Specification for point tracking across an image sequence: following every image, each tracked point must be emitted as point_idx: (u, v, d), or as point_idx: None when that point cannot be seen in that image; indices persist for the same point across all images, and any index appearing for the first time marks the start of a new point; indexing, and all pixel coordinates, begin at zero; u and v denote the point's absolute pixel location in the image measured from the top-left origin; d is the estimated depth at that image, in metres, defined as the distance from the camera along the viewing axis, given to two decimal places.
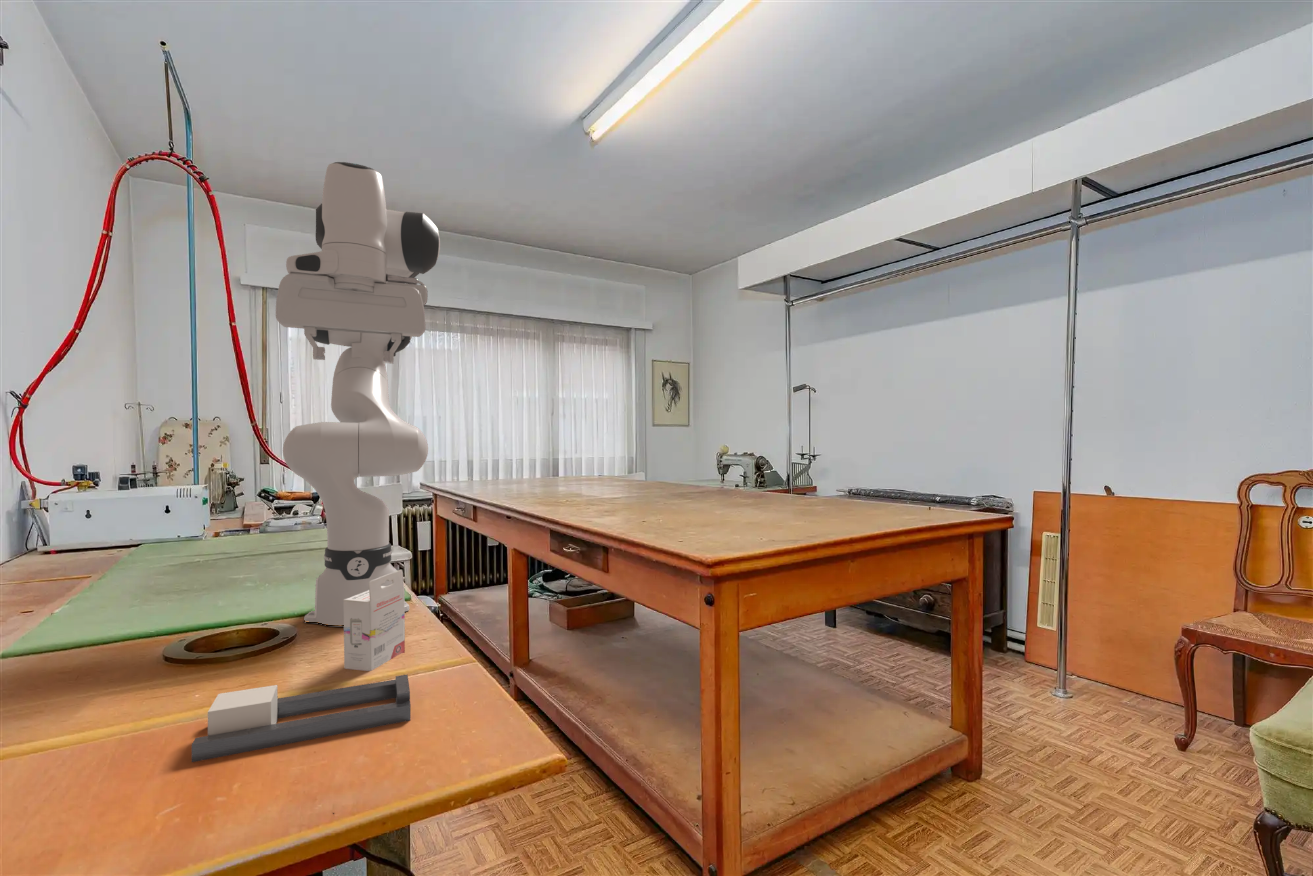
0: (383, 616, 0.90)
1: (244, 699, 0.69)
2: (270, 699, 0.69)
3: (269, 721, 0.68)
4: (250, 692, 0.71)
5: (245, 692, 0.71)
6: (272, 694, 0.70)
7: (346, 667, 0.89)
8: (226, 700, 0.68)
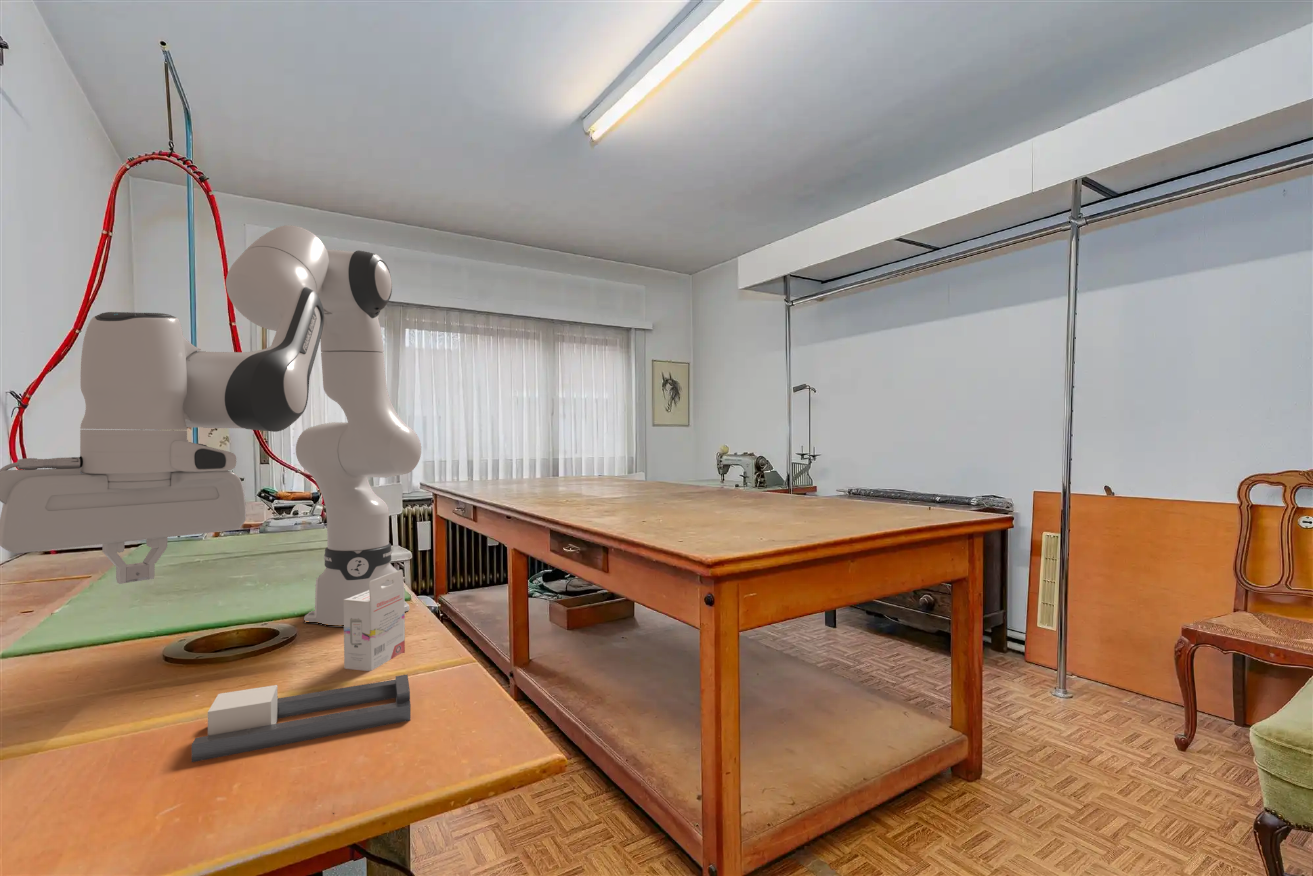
0: (383, 616, 0.90)
1: (244, 699, 0.69)
2: (270, 699, 0.69)
3: (269, 721, 0.68)
4: (250, 692, 0.71)
5: (245, 692, 0.71)
6: (272, 694, 0.70)
7: (346, 667, 0.89)
8: (226, 700, 0.68)
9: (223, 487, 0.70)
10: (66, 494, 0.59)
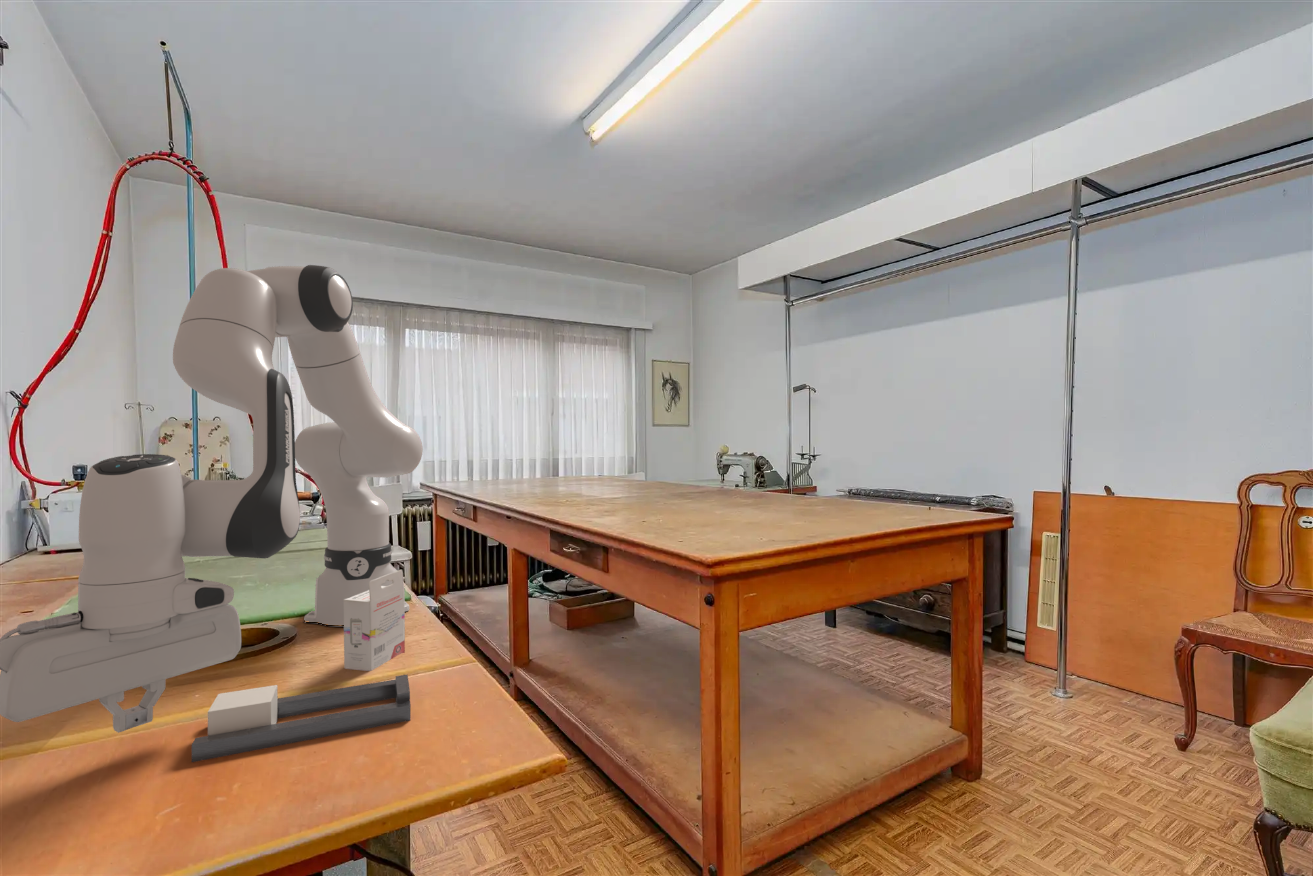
0: (383, 616, 0.90)
1: (244, 699, 0.69)
2: (270, 699, 0.69)
3: (269, 721, 0.68)
4: (250, 692, 0.71)
5: (245, 692, 0.71)
6: (272, 694, 0.70)
7: (346, 667, 0.89)
8: (226, 700, 0.68)
9: (220, 620, 0.70)
10: (69, 654, 0.59)
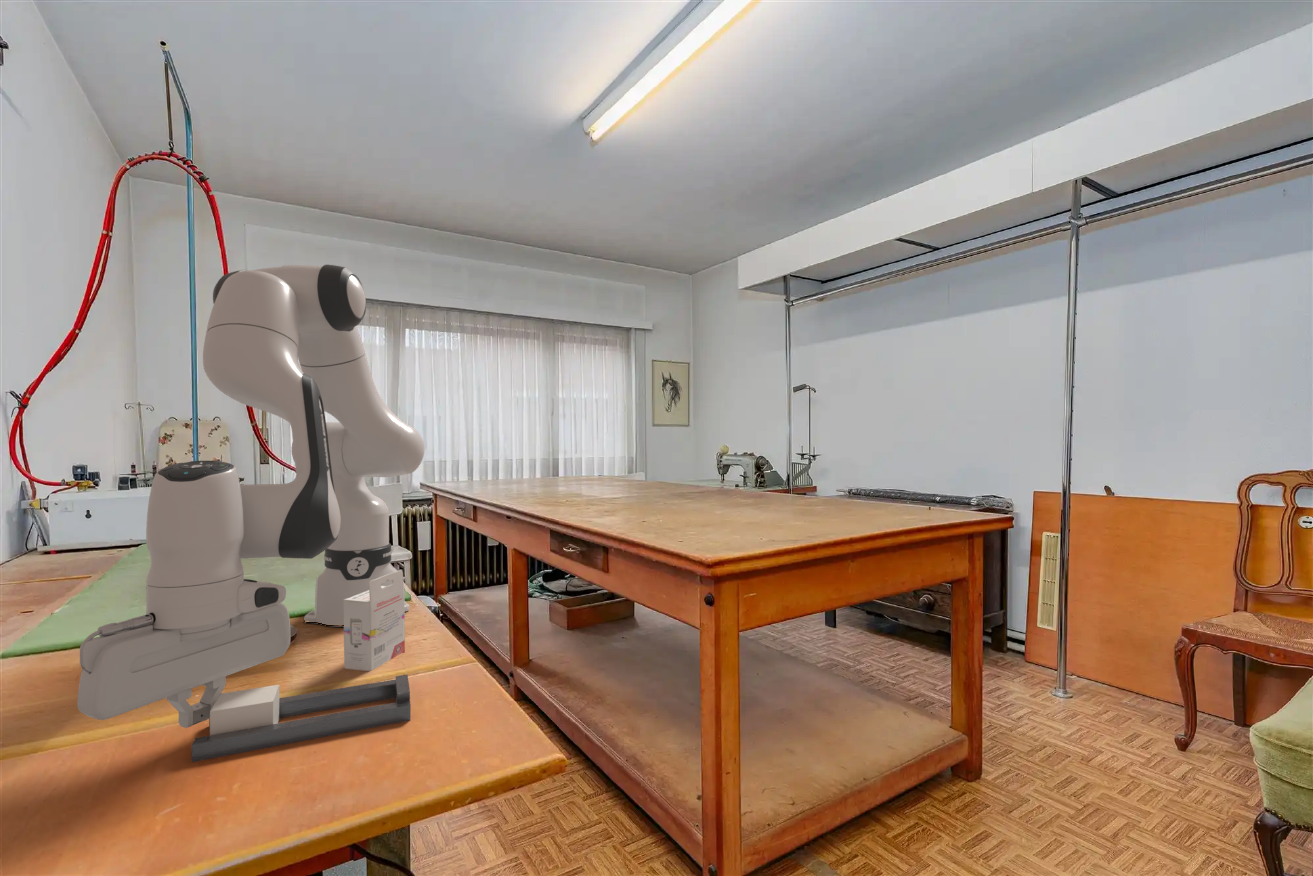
0: (383, 616, 0.90)
1: (246, 699, 0.69)
2: (272, 699, 0.69)
3: (271, 721, 0.68)
4: (252, 692, 0.71)
5: (247, 692, 0.71)
6: (274, 694, 0.70)
7: (346, 667, 0.89)
8: (228, 700, 0.68)
9: (273, 618, 0.73)
10: (146, 654, 0.61)
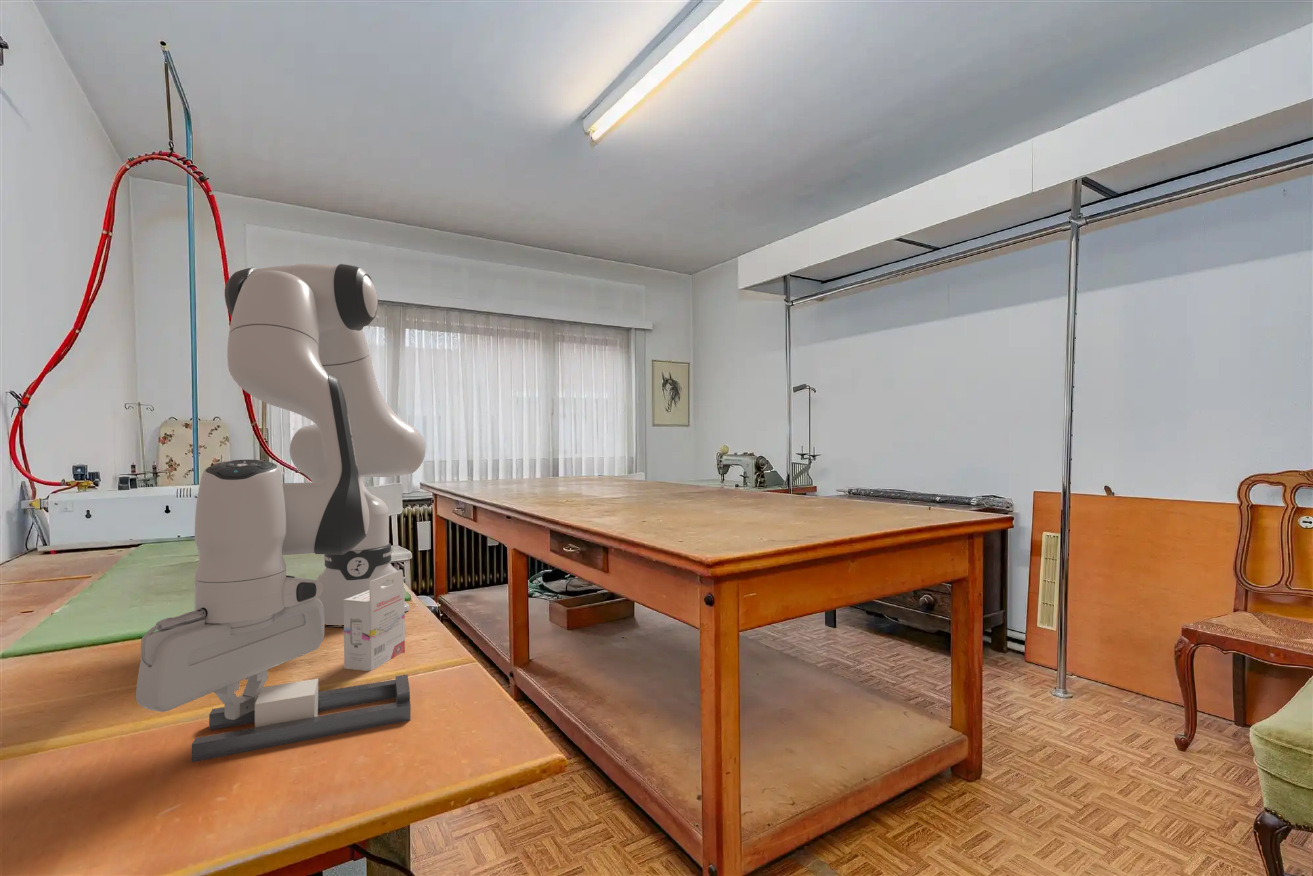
0: (383, 616, 0.90)
1: (288, 692, 0.71)
2: (313, 692, 0.71)
3: (313, 713, 0.70)
4: (292, 685, 0.73)
5: (288, 685, 0.72)
6: (314, 687, 0.72)
7: (346, 667, 0.89)
8: (271, 693, 0.70)
9: (310, 613, 0.76)
10: (201, 647, 0.63)
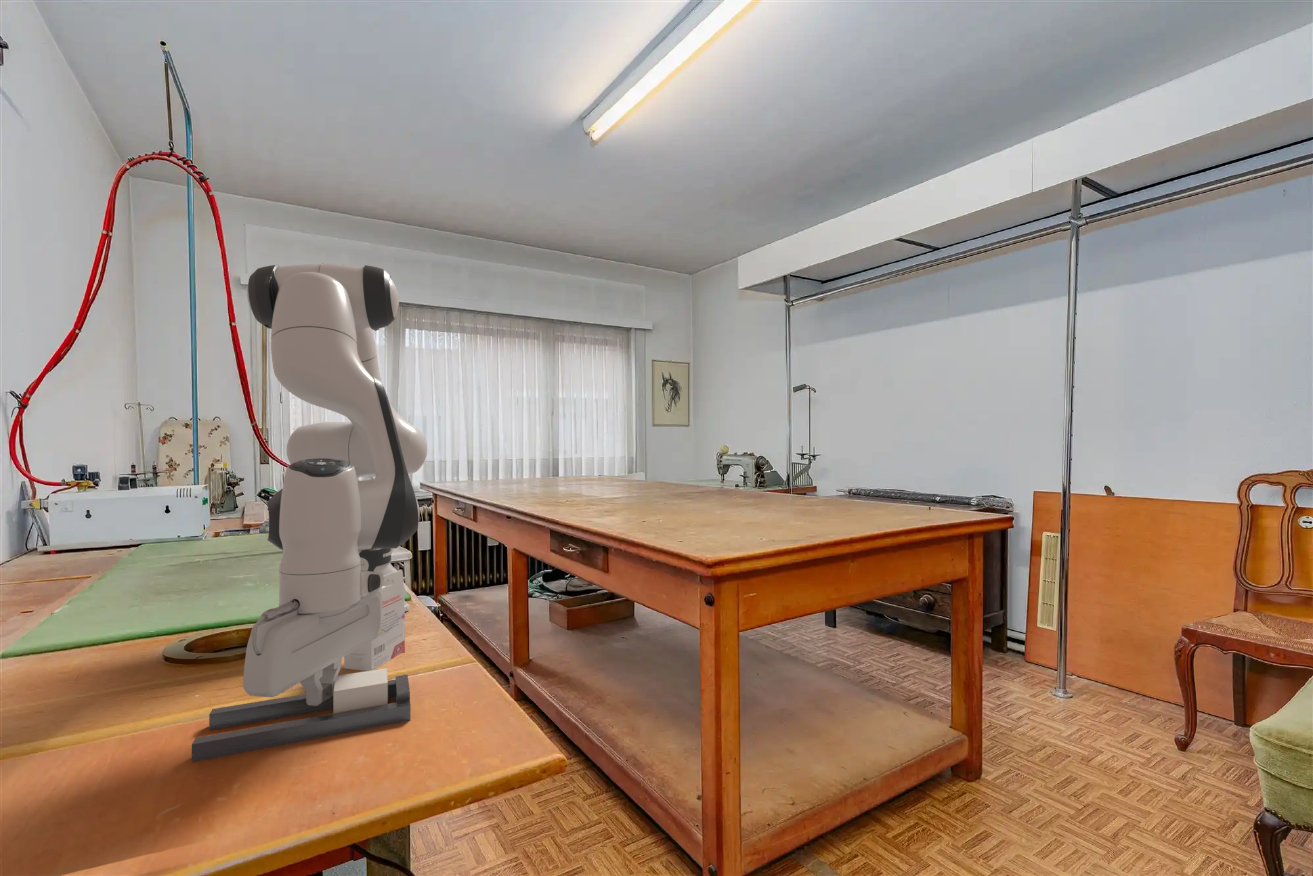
0: (383, 616, 0.90)
1: (362, 680, 0.74)
2: (386, 680, 0.74)
3: (386, 700, 0.74)
4: (364, 674, 0.76)
5: (360, 674, 0.76)
6: (386, 676, 0.75)
7: (346, 667, 0.89)
8: (346, 681, 0.74)
9: (372, 603, 0.80)
10: (299, 636, 0.67)
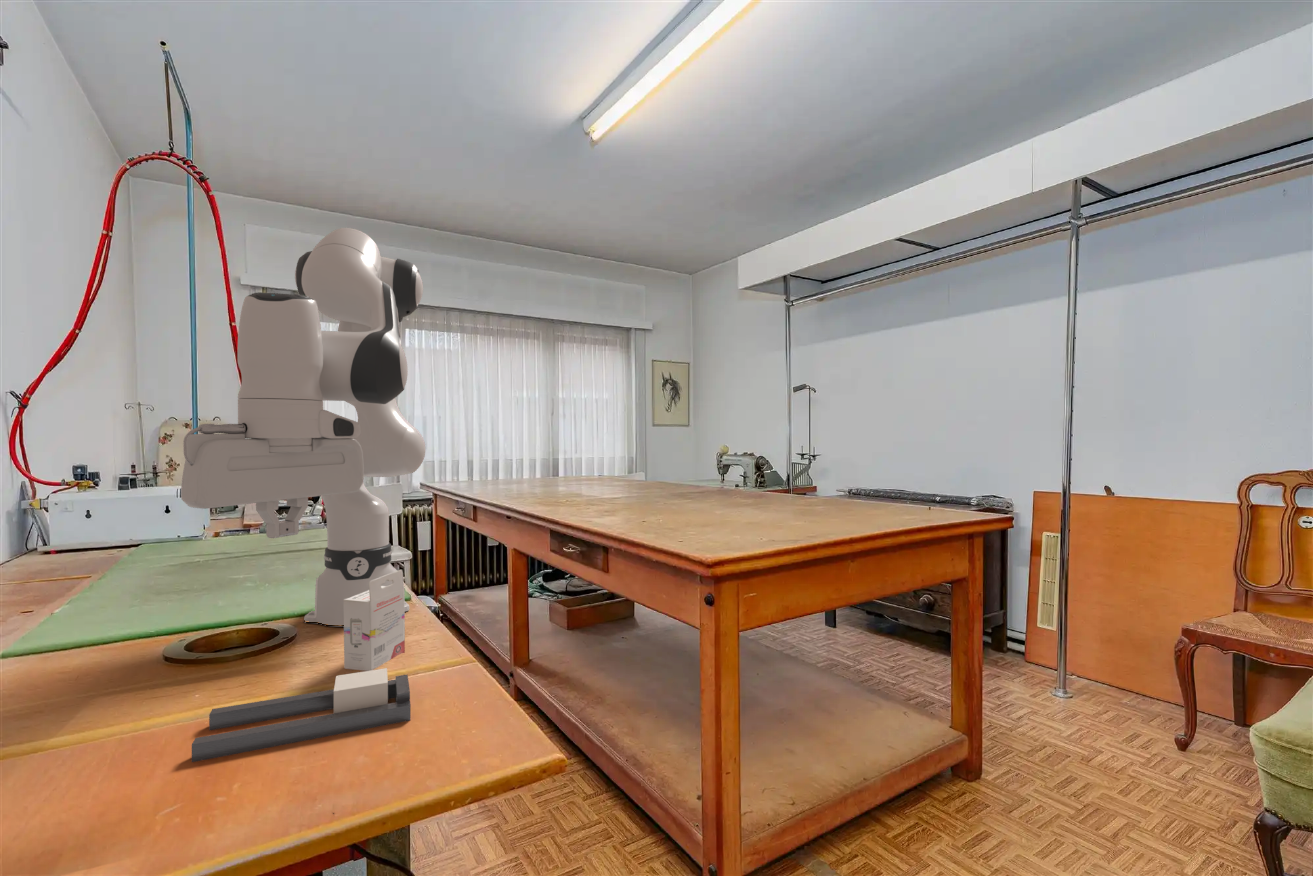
0: (383, 616, 0.90)
1: (362, 680, 0.74)
2: (386, 680, 0.74)
3: (386, 700, 0.74)
4: (364, 674, 0.76)
5: (360, 674, 0.76)
6: (386, 676, 0.75)
7: (346, 667, 0.89)
8: (346, 681, 0.74)
9: (348, 453, 0.78)
10: (240, 456, 0.66)
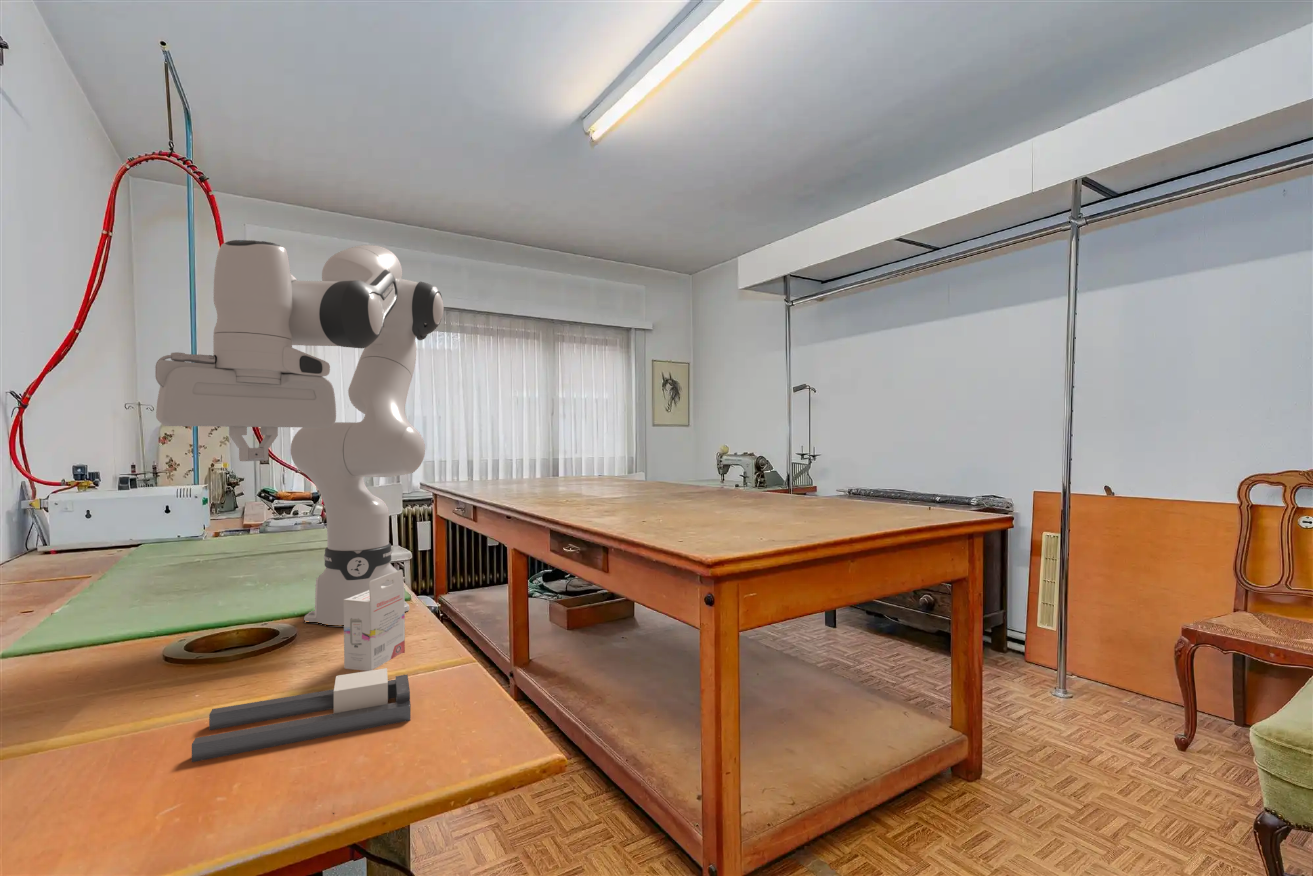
0: (383, 616, 0.90)
1: (362, 680, 0.74)
2: (386, 680, 0.74)
3: (386, 700, 0.74)
4: (364, 674, 0.76)
5: (360, 674, 0.76)
6: (386, 676, 0.75)
7: (346, 667, 0.89)
8: (346, 681, 0.74)
9: (319, 390, 0.84)
10: (206, 382, 0.74)
